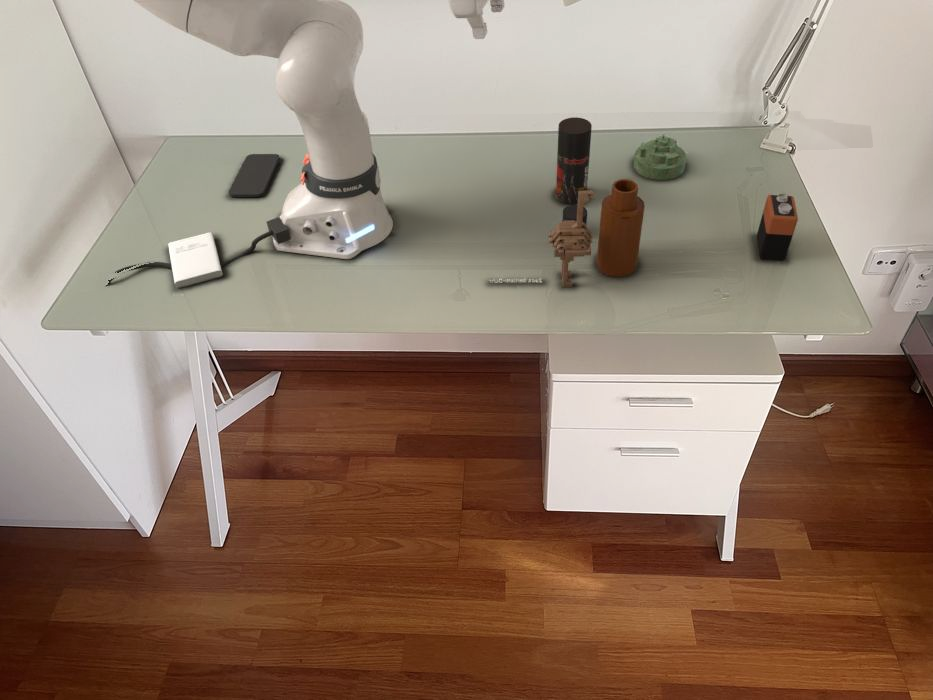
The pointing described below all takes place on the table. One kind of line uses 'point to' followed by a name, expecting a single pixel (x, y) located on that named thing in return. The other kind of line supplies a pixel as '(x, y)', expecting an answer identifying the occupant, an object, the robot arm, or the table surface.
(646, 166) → the decorative artifact
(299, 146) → the table surface
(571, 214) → the bung
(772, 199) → the battery
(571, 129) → the deodorant
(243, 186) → the phone
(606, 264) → the bottle
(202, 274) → the white power adapter
